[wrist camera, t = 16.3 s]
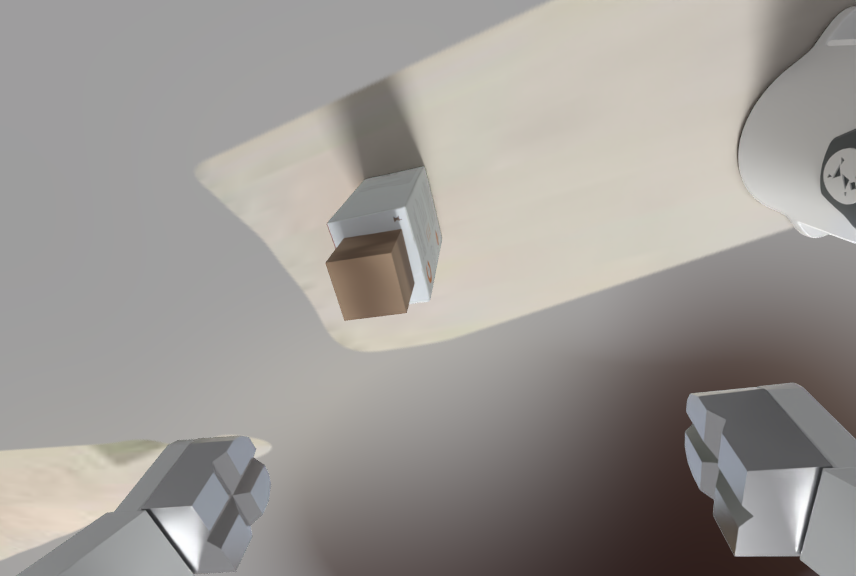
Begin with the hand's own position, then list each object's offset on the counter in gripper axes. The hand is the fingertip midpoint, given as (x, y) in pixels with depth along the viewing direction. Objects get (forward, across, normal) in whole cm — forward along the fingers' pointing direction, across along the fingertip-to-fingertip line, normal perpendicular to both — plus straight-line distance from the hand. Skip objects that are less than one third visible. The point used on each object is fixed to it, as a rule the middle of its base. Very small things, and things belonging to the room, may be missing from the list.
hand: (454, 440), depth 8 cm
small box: (+37, +8, +6) cm, 39 cm away
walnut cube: (+24, +8, +6) cm, 26 cm away
